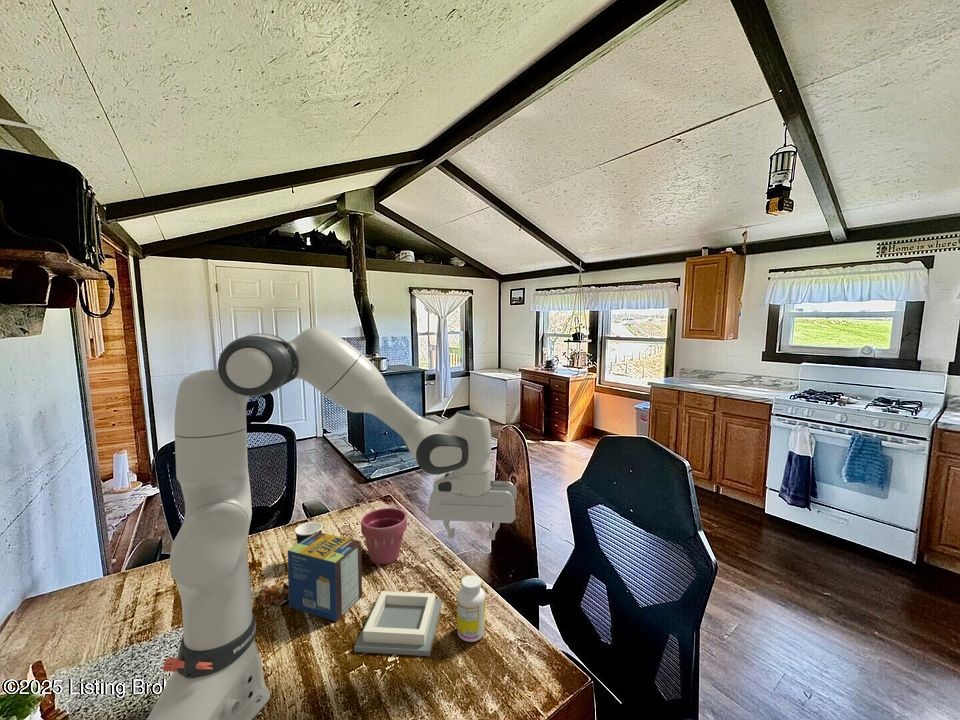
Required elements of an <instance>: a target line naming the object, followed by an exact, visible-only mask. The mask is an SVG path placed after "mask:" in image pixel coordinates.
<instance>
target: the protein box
mask: <svg viewBox="0 0 960 720" xmlns="http://www.w3.org/2000/svg"><path fill="white" fill-rule="evenodd" d="M287 567H288V568H287V569H288V572H287V573H288V574H287V575H288V584H289V600H288V607H289V608H291V609H294V610H297V611H300V612H304V613H307V614H310V615H313V616H316V617H320V618H322V619H325V620H329V621H333V622H338V621H340V619H341V618H342V617H344V615H345V614H346V613H347V612H348V611H349V610H350V609H351V608H352V607H353V606H354V605H355V604H356V603H357V602H358V601H359V600H360V599H361V598H362V597H363V582H362V581H363V579H362V578H363V573H362V541H360V540H356V539H351V538H346V537H344V536H342V537H341V536H338V535H334V534H329V533H324V532H321V533H320V532H315V533H313V534H312V535H310V536H309V537H307V538H306V539H304V540H302V541H301V542H299V543H298V544H297V543H296V544H294V545H293V546H292V547H290V548H288V550H287Z"/></svg>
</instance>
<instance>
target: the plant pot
mask: <svg viewBox="0 0 960 720" xmlns="http://www.w3.org/2000/svg"><path fill="white" fill-rule="evenodd" d="M407 520H408V517H407V514H406V512H405V511H404V510H402V509H399V508H394V507H385V508H379V509H375V510H372V511H370V512H368V513H365V515H363V517H362V518H361V520H360V521H361V522H360V528H361V529H360V531H361V535H362V536H363V537H364V541H365V543H366V548H367V553H368V555H369V560H370V561H371V562H372V563H374V564H377V565H386V564H390V563H392V562H395V561H396V560H398V558H399V556H400V553H401V548H402V543H403V538H404V533H405V531H406V530H407V528H408V521H407Z"/></svg>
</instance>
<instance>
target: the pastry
mask: <svg viewBox="0 0 960 720" xmlns="http://www.w3.org/2000/svg"><path fill="white" fill-rule="evenodd" d="M256 598H257V599H259V600H261V601H260V603H259V605H262V606H267V607H270V606H271V604H272V603H275V605H276V606H281V605H282V604H284V603H287V602H289V582H287V583H285V582H283V584H282V585H280V584H273V585H270V586H268V585H267V584H266V585H262V586H261V588H259V587H258V588H255V589H254V590H252V600H253V599H256Z"/></svg>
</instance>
